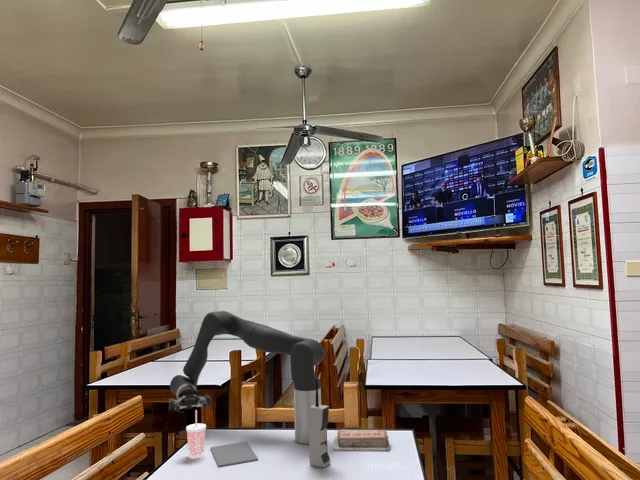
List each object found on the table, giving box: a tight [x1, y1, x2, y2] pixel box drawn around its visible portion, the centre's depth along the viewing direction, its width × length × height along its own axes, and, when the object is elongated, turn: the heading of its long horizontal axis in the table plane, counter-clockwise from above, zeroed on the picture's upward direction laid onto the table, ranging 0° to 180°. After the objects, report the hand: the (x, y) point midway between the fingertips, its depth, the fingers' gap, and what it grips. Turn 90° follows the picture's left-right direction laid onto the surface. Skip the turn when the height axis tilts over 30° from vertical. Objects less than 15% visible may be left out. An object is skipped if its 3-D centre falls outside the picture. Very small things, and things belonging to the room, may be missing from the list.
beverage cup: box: [185, 409, 207, 460], centre depth 143 cm, size 6×6×14 cm
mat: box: [210, 441, 259, 468], centre depth 143 cm, size 12×16×1 cm
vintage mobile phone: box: [308, 377, 331, 469], centre depth 134 cm, size 4×5×25 cm
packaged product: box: [332, 429, 390, 452], centre depth 148 cm, size 18×5×10 cm
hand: (191, 407), depth 154 cm, fingers open, 8 cm apart
